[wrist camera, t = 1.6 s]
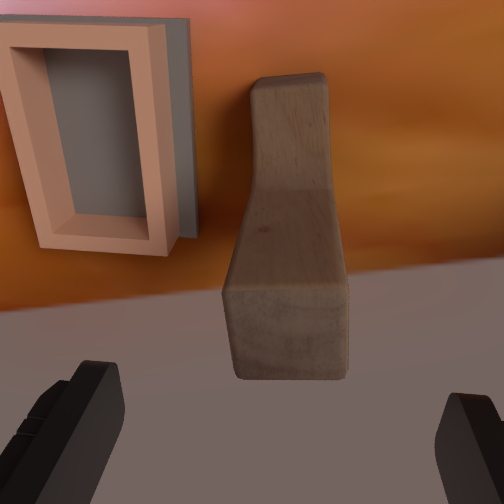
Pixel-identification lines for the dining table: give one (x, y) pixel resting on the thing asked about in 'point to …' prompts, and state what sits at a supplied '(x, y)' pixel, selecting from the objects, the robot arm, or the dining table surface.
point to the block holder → (103, 129)
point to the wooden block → (289, 243)
